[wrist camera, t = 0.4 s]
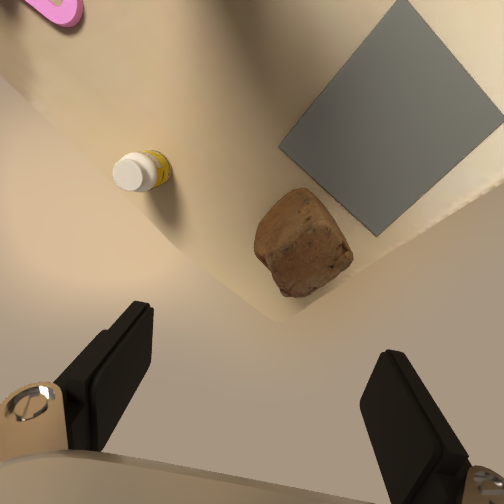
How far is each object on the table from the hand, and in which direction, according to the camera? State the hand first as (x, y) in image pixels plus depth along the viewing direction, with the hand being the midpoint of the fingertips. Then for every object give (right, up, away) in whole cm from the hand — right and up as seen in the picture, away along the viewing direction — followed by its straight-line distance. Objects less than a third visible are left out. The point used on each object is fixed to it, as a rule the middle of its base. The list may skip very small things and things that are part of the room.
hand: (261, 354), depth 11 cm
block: (+6, +10, +35) cm, 37 cm away
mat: (+19, +22, +29) cm, 41 cm away
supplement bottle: (-16, +18, +34) cm, 41 cm away
